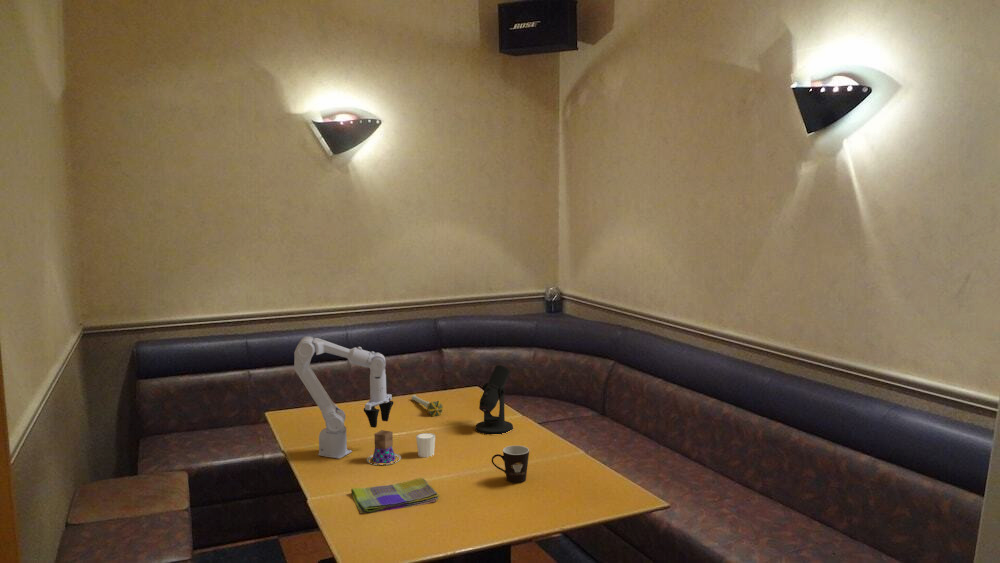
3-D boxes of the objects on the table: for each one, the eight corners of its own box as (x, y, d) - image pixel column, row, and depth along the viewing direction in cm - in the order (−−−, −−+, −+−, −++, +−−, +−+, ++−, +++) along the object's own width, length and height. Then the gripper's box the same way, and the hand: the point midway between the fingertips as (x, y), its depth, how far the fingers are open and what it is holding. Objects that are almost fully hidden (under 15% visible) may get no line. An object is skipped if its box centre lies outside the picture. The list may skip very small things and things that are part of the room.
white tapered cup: (432, 458, 257) (432, 439, 256) (414, 457, 258) (413, 438, 257) (438, 451, 264) (437, 433, 263) (419, 450, 265) (419, 432, 264)
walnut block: (374, 447, 255) (374, 433, 254) (382, 443, 259) (381, 430, 258) (385, 449, 253) (385, 435, 252) (392, 445, 257) (392, 431, 256)
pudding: (374, 469, 248) (374, 454, 248) (361, 458, 258) (361, 444, 258) (406, 462, 255) (406, 448, 254) (392, 452, 265) (392, 438, 264)
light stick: (420, 389, 332) (445, 401, 305) (421, 403, 332) (446, 416, 306) (406, 391, 329) (430, 403, 302) (406, 405, 329) (430, 419, 302)
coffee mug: (532, 476, 240) (532, 447, 239) (524, 486, 232) (524, 456, 231) (499, 472, 244) (499, 443, 243) (490, 481, 236) (490, 451, 235)
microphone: (521, 426, 293) (521, 365, 290) (498, 438, 278) (498, 374, 275) (490, 420, 301) (490, 360, 298) (466, 431, 286) (466, 369, 283)
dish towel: (350, 494, 228) (349, 485, 228) (425, 482, 237) (425, 474, 237) (361, 517, 212) (360, 507, 212) (441, 503, 221) (441, 494, 221)
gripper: (376, 393, 253) (377, 431, 255) (398, 383, 266) (399, 419, 268) (359, 391, 256) (360, 428, 257) (381, 381, 269) (383, 417, 271)
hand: (379, 424), depth 263 cm, fingers open, 7 cm apart
